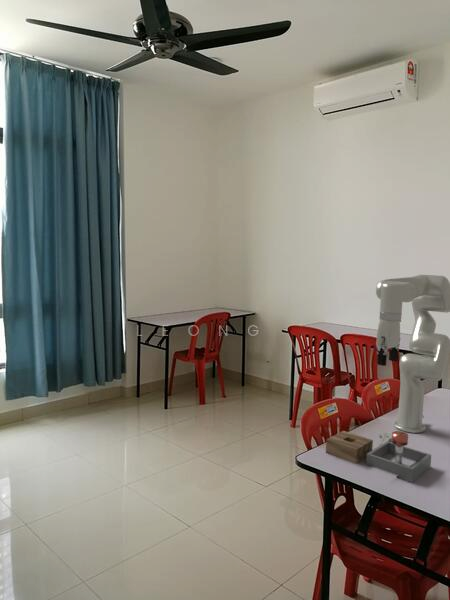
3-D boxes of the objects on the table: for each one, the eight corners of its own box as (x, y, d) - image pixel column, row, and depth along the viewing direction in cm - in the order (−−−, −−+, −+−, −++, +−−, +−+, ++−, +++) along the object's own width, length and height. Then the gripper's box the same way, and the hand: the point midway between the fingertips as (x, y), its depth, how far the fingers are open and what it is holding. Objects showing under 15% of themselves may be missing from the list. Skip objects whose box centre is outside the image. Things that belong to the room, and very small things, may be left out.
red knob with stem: (394, 459, 170) (396, 429, 168) (408, 464, 166) (410, 434, 165) (387, 464, 166) (389, 434, 165) (402, 469, 163) (404, 438, 161)
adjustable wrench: (380, 459, 173) (380, 454, 173) (362, 454, 177) (362, 450, 177) (398, 437, 194) (399, 433, 194) (382, 433, 197) (383, 429, 197)
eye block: (342, 445, 183) (343, 430, 182) (371, 455, 175) (372, 440, 174) (325, 455, 174) (326, 439, 174) (355, 466, 166) (356, 449, 165)
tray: (386, 452, 178) (387, 441, 177) (430, 467, 167) (431, 454, 166) (365, 466, 166) (366, 453, 166) (411, 482, 155) (412, 469, 155)
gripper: (390, 313, 184) (388, 357, 186) (369, 317, 171) (366, 364, 173) (410, 316, 178) (407, 361, 180) (389, 320, 166) (386, 368, 168)
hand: (387, 362), depth 177 cm, fingers open, 9 cm apart
